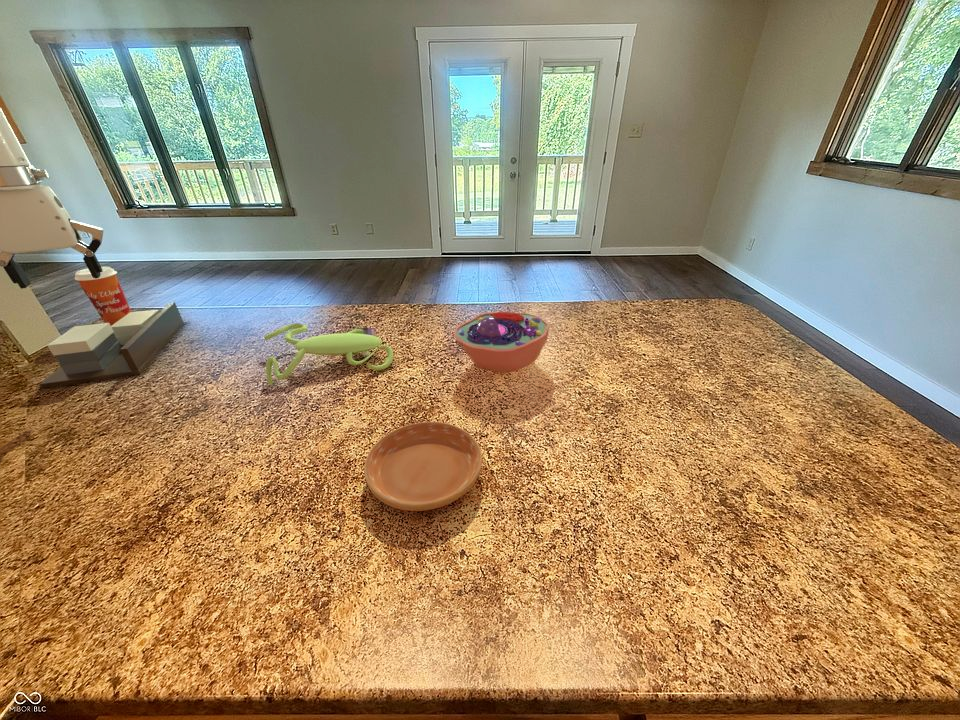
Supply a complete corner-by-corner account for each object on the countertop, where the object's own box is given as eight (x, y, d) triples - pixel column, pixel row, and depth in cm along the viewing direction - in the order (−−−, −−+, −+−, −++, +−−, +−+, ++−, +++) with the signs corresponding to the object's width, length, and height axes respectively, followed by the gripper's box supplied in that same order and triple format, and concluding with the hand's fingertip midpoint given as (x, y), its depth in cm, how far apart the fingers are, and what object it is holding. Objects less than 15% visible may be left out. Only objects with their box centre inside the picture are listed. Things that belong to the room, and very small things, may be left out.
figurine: (274, 344, 88) (267, 322, 85) (392, 332, 93) (389, 311, 90) (251, 388, 72) (242, 363, 69) (394, 371, 77) (391, 347, 74)
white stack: (117, 345, 86) (108, 328, 83) (136, 328, 93) (127, 312, 91) (151, 341, 87) (143, 324, 85) (166, 325, 95) (159, 309, 93)
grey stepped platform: (41, 388, 73) (22, 361, 70) (109, 332, 94) (97, 309, 91) (140, 374, 77) (126, 348, 74) (184, 323, 98) (174, 302, 95)
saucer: (392, 429, 61) (390, 415, 60) (490, 440, 59) (490, 425, 58) (346, 512, 48) (341, 496, 46) (470, 531, 45) (469, 514, 44)
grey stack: (64, 375, 75) (51, 356, 73) (89, 353, 82) (78, 335, 80) (103, 370, 76) (92, 351, 74) (125, 349, 84) (115, 331, 82)
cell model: (565, 367, 78) (572, 317, 72) (484, 398, 69) (483, 343, 63) (516, 336, 90) (518, 291, 85) (441, 359, 81) (438, 310, 76)
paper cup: (100, 332, 94) (69, 277, 87) (103, 321, 100) (74, 269, 93) (139, 324, 98) (113, 271, 91) (140, 314, 104) (115, 263, 97)
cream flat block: (53, 355, 73) (46, 345, 72) (79, 335, 80) (74, 326, 79) (91, 350, 74) (85, 340, 73) (114, 331, 82) (109, 322, 81)
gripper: (80, 175, 68) (125, 268, 77) (-67, 180, 60) (2, 284, 69) (72, 177, 63) (121, 278, 72) (-91, 184, 55) (-13, 296, 63)
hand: (63, 281), depth 70 cm, fingers open, 9 cm apart
